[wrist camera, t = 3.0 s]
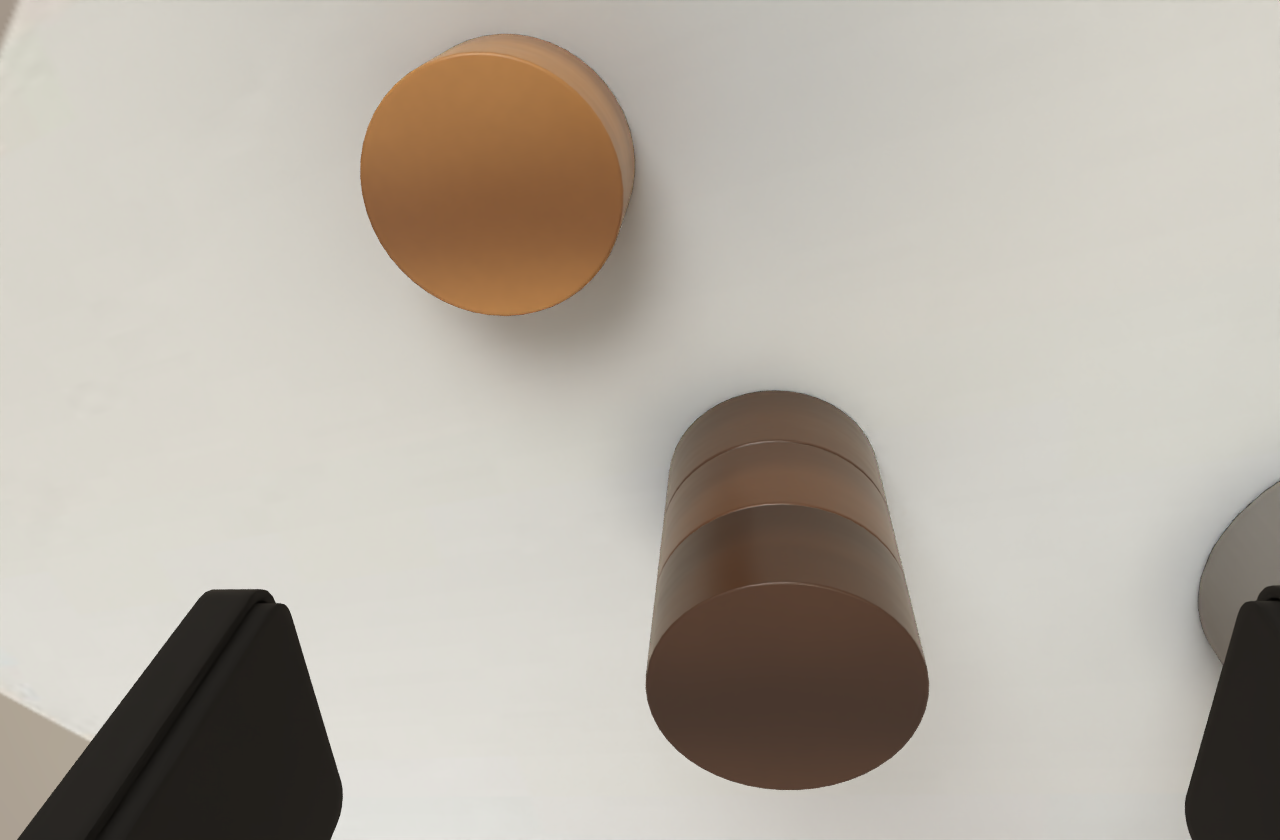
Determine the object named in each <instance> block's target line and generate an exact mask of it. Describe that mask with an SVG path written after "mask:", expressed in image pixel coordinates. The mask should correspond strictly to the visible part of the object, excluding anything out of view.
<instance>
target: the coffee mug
mask: <svg viewBox="0 0 1280 840" xmlns="http://www.w3.org/2000/svg"><path fill="white" fill-rule="evenodd" d="M1272 585H1280V481H1279V482H1278V483H1276V484H1275V485H1274V486H1272V487H1271V488H1269V489H1268V490H1266V491H1265V492H1263V493H1262V494H1261V495H1260V496H1259V497H1258V498H1257V499H1255V500H1254V501H1253V502H1252V503H1251V504H1250V505H1249V506H1248V507H1247V508H1246V509H1245V510H1243V511H1242V512H1241V513H1240V514H1239V515H1238V516H1237V517H1236V518H1235V519H1234V521H1233V522H1232V523H1231V525H1230V526H1229V527H1228V528H1227V530H1226V531H1225V532H1224V533H1223V535H1222V536H1221V537H1220V539H1219V540H1218V542H1217V543H1216V545H1215V546H1214V548H1213V550H1212V552H1211V554H1210V556H1209V558H1208V561H1207V564H1206V566H1205V569H1204V572H1203V574H1202V577H1201V582H1200V589H1199V597H1198V607H1199V614H1200V619H1201V624H1202V628H1203V631H1204V633H1205V636H1206V638H1207V640H1208V641H1209V643H1210V645H1211V647H1212V648H1213V650H1214V651H1215V653H1216V655H1217V656H1218V658H1219V659H1220V661H1221V663H1222V664H1224V661H1225V657H1226V654H1227V650H1228V647H1229V643H1230V640H1231V636H1232V632H1233V629H1234V625H1235V622H1236V618H1237V615H1238V612H1239V610H1240V607H1241V606H1242V605H1243V604H1244V603H1245V602H1248V601H1256V600H1257V598H1258V595H1259V593H1260V592H1261V591H1262V590H1263V589H1264V588H1265V587H1268V586H1272Z"/></svg>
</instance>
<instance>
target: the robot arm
mask: <svg viewBox="0 0 1280 840" xmlns="http://www.w3.org/2000/svg"><path fill="white" fill-rule="evenodd" d="M342 799H343V791H342V784H341V780H340V776H339V773H338V770H337V766H336V763H335V760H334V756H333V753H332V750H331V746H330V743H329V740H328V736H327V733H326V730H325V726H324V723H323V720H322V716H321V713H320V710H319V706H318V703H317V700H316V696H315V693H314V690H313V686H312V683H311V680H310V676H309V673H308V670H307V666H306V663H305V659H304V656H303V653H302V649H301V646H300V643H299V639H298V636H297V633H296V629H295V626H294V623H293V619H292V616H291V613H290V611H289V609H288V608H287V606H286V605H285V604H281V603H275V601H274V598H273V596H272V595H271V594H270V593H269V592H268V591H266V590H262V589H228V590H210V591H207V592H205V593H204V594H203V595H202V596H201V597H200V598H199V599H198V601H197V602H196V603H195V605H194V606H193V607H192V609H191V610H190V611H189V613H188V614H187V615H186V617H185V618H184V619H183V620H182V622H181V623H180V624H179V626H178V627H177V628H176V630H175V631H174V632H173V634H172V635H171V636H170V638H169V639H168V640H167V642H166V643H165V644H164V646H163V647H162V648H161V650H160V651H159V652H158V654H157V655H156V656H155V658H154V659H153V660H152V662H151V663H150V664H149V666H148V667H147V668H146V670H145V671H144V672H143V674H142V675H141V676H140V677H139V679H138V680H137V681H136V683H135V684H134V685H133V687H132V688H131V689H130V691H129V692H128V693H127V695H126V696H125V697H124V699H123V700H122V701H121V703H120V704H119V705H118V707H117V708H116V709H115V711H114V712H113V713H112V715H111V716H110V717H109V719H108V720H107V721H106V723H105V724H104V725H103V727H102V728H101V729H100V731H99V732H98V733H97V734H96V736H95V737H94V738H93V740H92V741H91V742H90V744H89V745H88V746H87V748H86V749H85V750H84V752H83V753H82V755H81V756H80V757H79V758H78V760H77V761H76V762H75V764H74V765H73V766H72V768H71V769H70V770H69V772H68V773H67V774H66V776H65V777H64V778H63V780H62V781H61V782H60V784H59V785H58V786H57V788H56V789H55V790H54V792H53V793H52V794H51V796H50V797H49V798H48V799H47V801H46V802H45V803H44V805H43V806H42V808H41V809H40V810H39V811H38V813H37V814H36V815H35V817H34V818H33V819H32V821H31V822H30V823H29V825H28V826H27V827H26V829H25V830H24V831H23V833H22V834H21V835H20V837H19V838H18V839H17V840H330V839H331V837H332V835H333V832H334V830H335V828H336V825H337V823H338V820H339V817H340V813H341V808H342ZM1185 815H1186V822H1187V826H1188V830H1189V833H1190V836H1191V838H1192V840H1280V585H1272V586H1268V587H1265V588H1264V589H1263V590H1262V591H1261V592H1260V593H1259V595H1258V598H1257V600H1256V601H1248V602H1245V603H1244V604H1243V605H1242V606H1241V607H1240V610H1239V612H1238V615H1237V618H1236V622H1235V625H1234V629H1233V632H1232V636H1231V640H1230V643H1229V647H1228V650H1227V654H1226V657H1225V661H1224V664H1223V668H1222V671H1221V675H1220V678H1219V682H1218V685H1217V689H1216V693H1215V696H1214V700H1213V703H1212V707H1211V710H1210V714H1209V717H1208V721H1207V724H1206V728H1205V731H1204V735H1203V739H1202V742H1201V746H1200V749H1199V753H1198V756H1197V760H1196V763H1195V767H1194V770H1193V774H1192V777H1191V781H1190V784H1189V788H1188V792H1187V795H1186V801H1185Z"/></svg>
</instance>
